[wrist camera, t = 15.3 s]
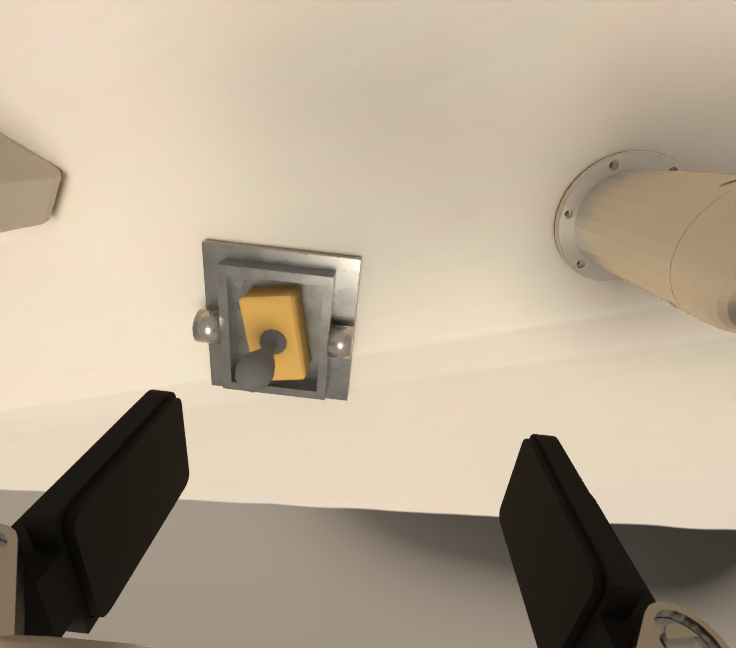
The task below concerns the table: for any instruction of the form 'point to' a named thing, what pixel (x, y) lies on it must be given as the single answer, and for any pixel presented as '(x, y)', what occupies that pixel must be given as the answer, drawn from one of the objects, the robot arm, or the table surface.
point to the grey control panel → (25, 186)
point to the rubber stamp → (273, 337)
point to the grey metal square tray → (320, 306)
